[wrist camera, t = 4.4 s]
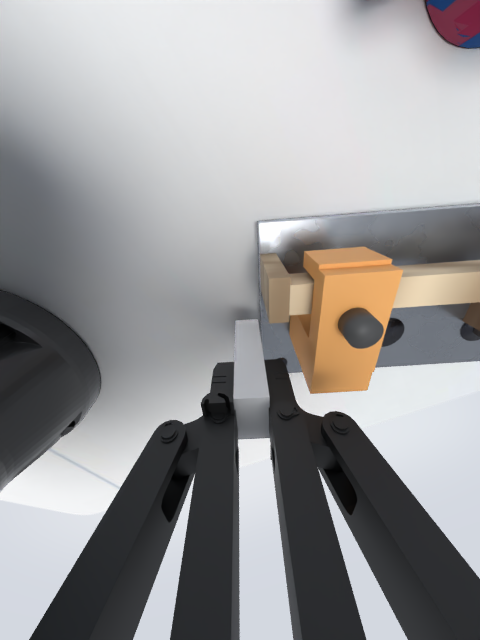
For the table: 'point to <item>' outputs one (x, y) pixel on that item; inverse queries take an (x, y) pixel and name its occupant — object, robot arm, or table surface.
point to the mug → (457, 20)
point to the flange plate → (404, 249)
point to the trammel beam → (414, 290)
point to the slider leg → (344, 317)
